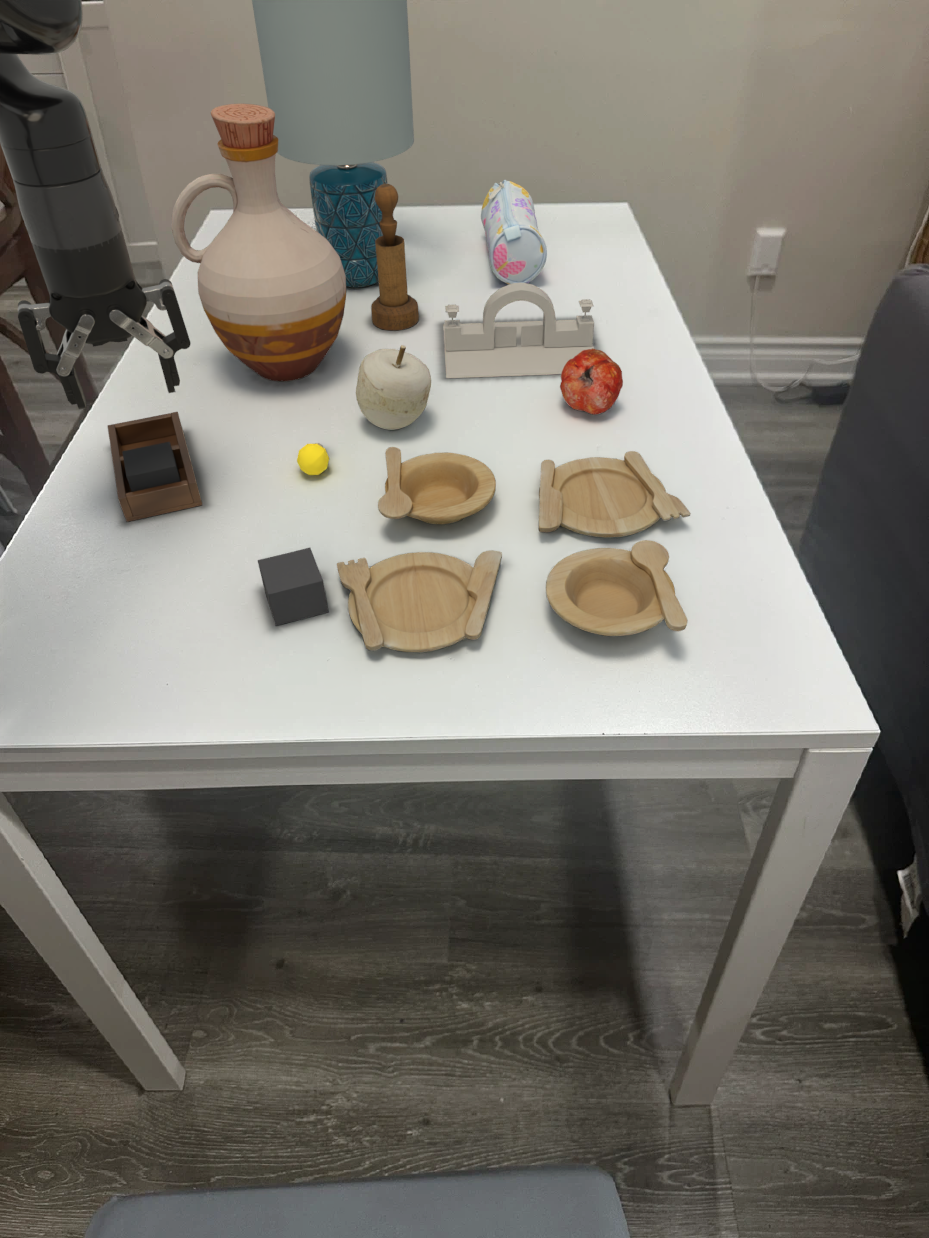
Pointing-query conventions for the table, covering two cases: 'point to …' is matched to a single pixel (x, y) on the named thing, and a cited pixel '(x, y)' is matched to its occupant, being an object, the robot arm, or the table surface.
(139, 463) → the pad left
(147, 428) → the back frame
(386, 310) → the mortar and pestle
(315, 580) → the pad right
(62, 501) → the table surface
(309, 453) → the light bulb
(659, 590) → the tableware set
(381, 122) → the lamp
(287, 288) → the jug
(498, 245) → the pencil case
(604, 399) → the pomegranate
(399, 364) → the decorative object
